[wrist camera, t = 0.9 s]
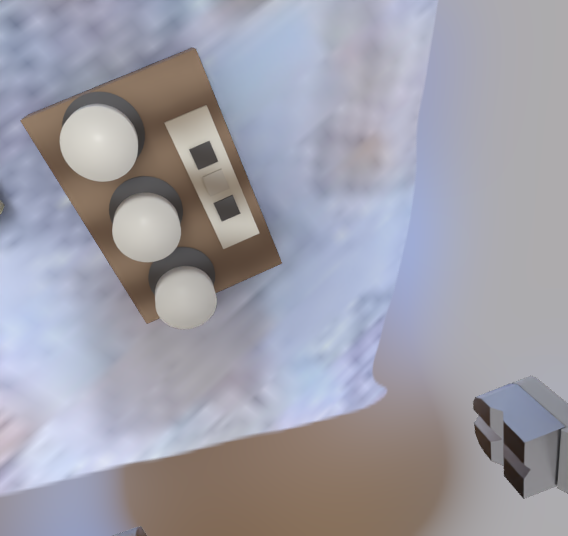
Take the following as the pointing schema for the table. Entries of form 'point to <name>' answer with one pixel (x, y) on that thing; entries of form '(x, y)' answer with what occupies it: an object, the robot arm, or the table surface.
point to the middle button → (146, 227)
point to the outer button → (185, 297)
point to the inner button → (99, 142)
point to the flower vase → (1, 207)
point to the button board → (167, 177)
